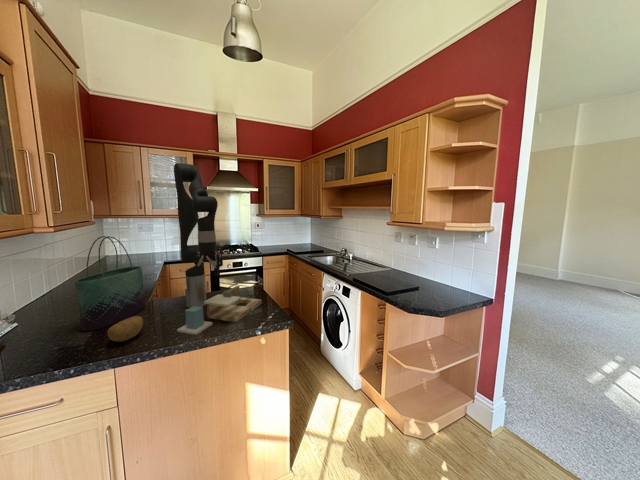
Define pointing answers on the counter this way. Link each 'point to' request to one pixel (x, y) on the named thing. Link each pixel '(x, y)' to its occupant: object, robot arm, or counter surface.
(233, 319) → the puzzle board
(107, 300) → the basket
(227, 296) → the cover
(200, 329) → the mat
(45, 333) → the counter surface
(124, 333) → the potato
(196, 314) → the block
